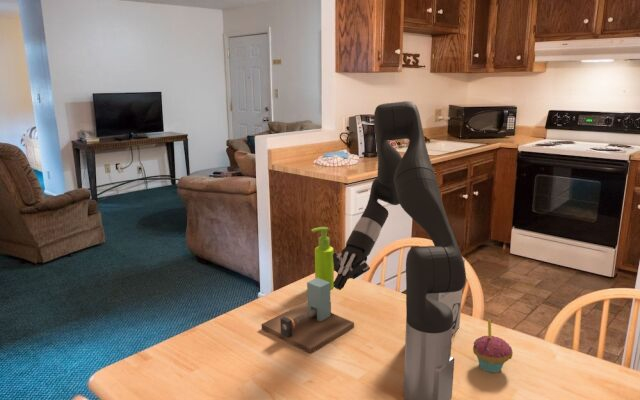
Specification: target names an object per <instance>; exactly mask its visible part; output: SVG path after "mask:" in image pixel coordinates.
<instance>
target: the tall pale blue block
mask: <svg viewBox="0 0 640 400" xmlns="http://www.w3.org/2000/svg"><path fill="white" fill-rule="evenodd" d="M306 287H307V289H306V290H307V291H306V294H307V296H306V297H307V298H306V299H307V301H306V302H307V303H308V311H309V310H311V309H313V308H316V309H317V313H316V314H315V315H317V320H318V321H320V322H321V321H323V320H325V319H326V318H328V317H330V316H331V313H332V311H331V312H330V302H331V290H330V282H328V281H325V280H322V279H319V278H315V277H314V278H313V279H311V280H309V281H306ZM315 315H313V316H315ZM313 316H311V317H313Z"/></svg>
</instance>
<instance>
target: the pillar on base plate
mask: <svg viewBox="0 0 640 400" xmlns="http://www.w3.org/2000/svg"><path fill="white" fill-rule="evenodd" d="M330 312H331V316H330V317H328V318H326V319H325V320H323V321H321V322H320V321H318V320H317V315H315V314H316V313H317V309H316V308H313V309H311V310H309V311H308V303H307V301H306V302H303V303H301V304H299V305H297V306H295V307H293V308H290V309H289V310H287V311H285V312H283V313H281V314H279V315H277V316H275V317H272V318H271V319H269V320H267V321H265V322H263V323H261V330H263V331H265V332H266V333H269V334H270V335H273V336H274V337H276V338H278V339H280V340H282V341H284V342H286V343H287V344H290V345H292V346H294V347H296V348H298V349H299V350H301V351H304V352H305V353H307V354H309V355H312V354H314V353H315V352H316V351H318V350H319V349H321V348H322V347H325V346H326V345H328V344H329V343H331V342H333V341H334V340H336V339H337V338H340V336H342V335H344V334H346V333H348V332H349V331H350V330H353V328H354V327H355V323H354V321H352V320H349V319H347V318H345V317H342V316H340V315H338V314H335V313H333V312H332V302H331V301H330ZM313 315H315V316H313ZM311 316H313V317H311Z"/></svg>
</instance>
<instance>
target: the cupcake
mask: <svg viewBox="0 0 640 400" xmlns="http://www.w3.org/2000/svg"><path fill="white" fill-rule="evenodd" d="M490 318H491V317H490V316H488V319H487V331H488V333H487V334H488V335H482V336H480V337H478V338H476V339H475V340H474V341H473V347H472V351H473V354H474V355H475V356H476V358H477V360H478V361H477V362H478V364H479V368H480V369H482V370H483V371H484V372H487V373H493V374H494V373H495V374H496V373H498V372H501V370H502V369H503V366H504V364H505V363H506V362H508V361H509V360H511V359H512V357H513V349H512V346H511V345H510V343H508V342H506V340H504V339H503V338H501V337H499V336H494V335H492V320H491V319H490Z"/></svg>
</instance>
